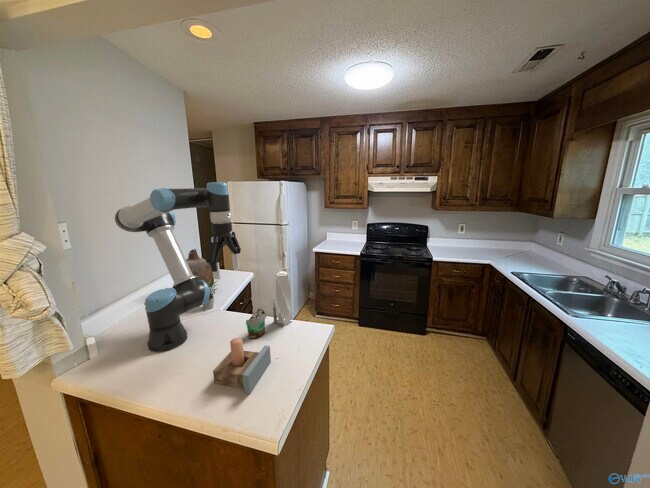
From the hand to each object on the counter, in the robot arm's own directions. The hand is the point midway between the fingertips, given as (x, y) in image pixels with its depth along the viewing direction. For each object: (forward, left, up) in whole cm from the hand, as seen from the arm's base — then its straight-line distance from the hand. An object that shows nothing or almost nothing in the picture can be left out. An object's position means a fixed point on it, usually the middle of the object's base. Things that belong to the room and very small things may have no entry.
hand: (227, 273), depth 107 cm
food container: (+8, +8, -32) cm, 34 cm away
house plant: (-33, +29, -32) cm, 54 cm away
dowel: (+14, -19, -29) cm, 38 cm away
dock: (+10, -19, -32) cm, 38 cm away
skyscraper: (+15, +21, -32) cm, 41 cm away
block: (+14, -19, -30) cm, 38 cm away
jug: (-56, +47, -32) cm, 80 cm away
